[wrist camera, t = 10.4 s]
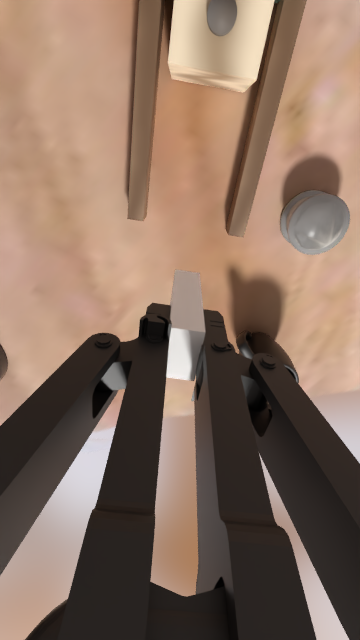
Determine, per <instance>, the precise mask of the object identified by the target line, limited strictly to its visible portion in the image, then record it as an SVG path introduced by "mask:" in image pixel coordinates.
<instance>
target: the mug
mask: <svg viewBox="0 0 360 640" xmlns="http://www.w3.org/2000/svg"><path fill="white" fill-rule="evenodd" d="M236 343H237V347H238V349H239V355H241V356H244V357H247V358H249V359H252V358H253V356H254V355H255V354H258V353H266V354H269V355H272V356H274V357H276V358H278V359H279V360H280V361H281V362H282V363H283V365H284V366H285V367H286V369H287V370H288V371H289V372H290V374H291V375H292V376H293V378H294V379H295V380H296V382H297V383H299V378H298V374H297V372H296V370H295V368H294V365H293V363H292V361H291V359H290V358H289V356H288V355H287V354H286V352H285V351H284V350H283V349H282V347H281V346H280V345H279V344H278V343H277V342H275V341H274V340H273V339H272V338H271V337H270V336H269V335H267V334H265V333H260V332H257V333H252V334H251V333H250V332H249V331H244V332H242V333H241V334H240V335H239V336H238V337H237V338H236Z"/></svg>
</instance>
